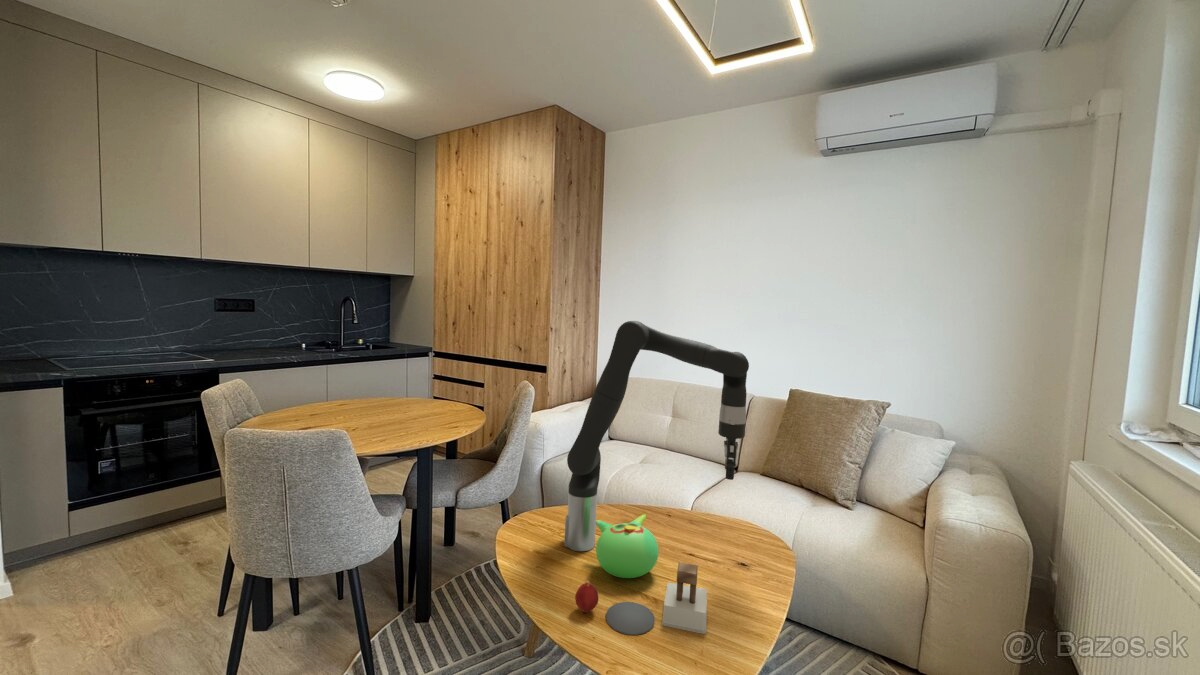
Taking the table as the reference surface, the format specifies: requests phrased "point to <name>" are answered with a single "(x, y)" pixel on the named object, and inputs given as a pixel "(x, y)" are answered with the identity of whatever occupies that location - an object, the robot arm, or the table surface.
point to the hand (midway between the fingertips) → (729, 474)
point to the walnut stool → (686, 580)
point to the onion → (586, 597)
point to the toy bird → (626, 548)
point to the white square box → (685, 609)
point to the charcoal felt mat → (630, 618)
